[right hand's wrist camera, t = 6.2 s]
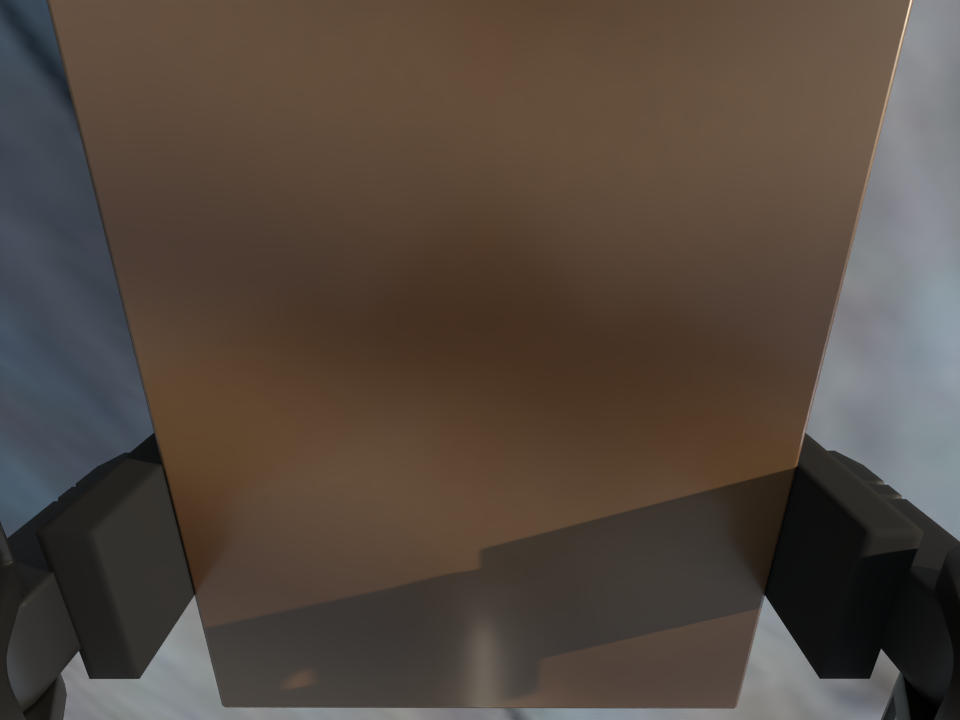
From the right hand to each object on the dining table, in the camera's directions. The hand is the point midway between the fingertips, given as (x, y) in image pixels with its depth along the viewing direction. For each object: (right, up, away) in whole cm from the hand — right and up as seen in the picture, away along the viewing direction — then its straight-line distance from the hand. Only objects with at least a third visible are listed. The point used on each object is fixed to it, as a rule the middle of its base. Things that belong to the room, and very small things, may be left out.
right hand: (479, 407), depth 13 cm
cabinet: (0, +6, +4) cm, 7 cm away
